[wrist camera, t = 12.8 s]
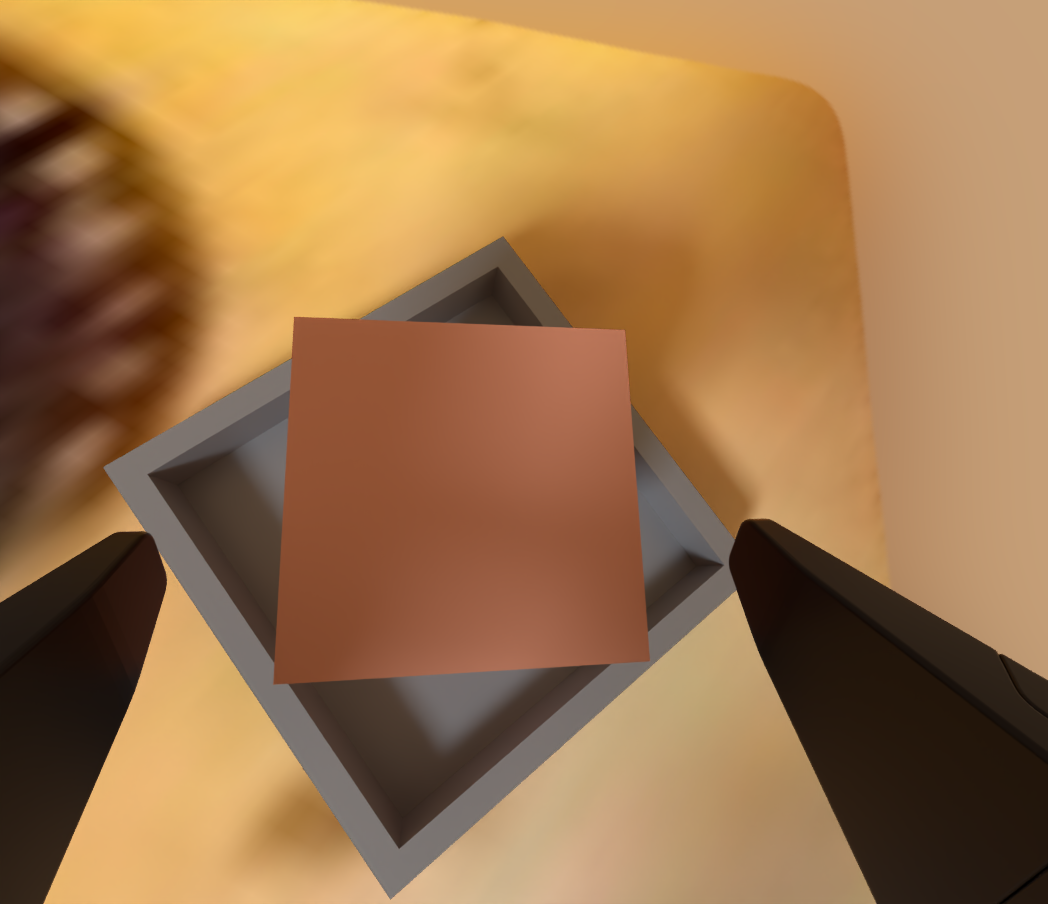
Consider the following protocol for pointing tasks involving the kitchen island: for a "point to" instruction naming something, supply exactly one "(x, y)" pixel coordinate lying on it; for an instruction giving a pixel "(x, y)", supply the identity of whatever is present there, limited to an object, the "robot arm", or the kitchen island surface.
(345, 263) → the kitchen island surface
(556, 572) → the terracotta block
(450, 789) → the charcoal tray
